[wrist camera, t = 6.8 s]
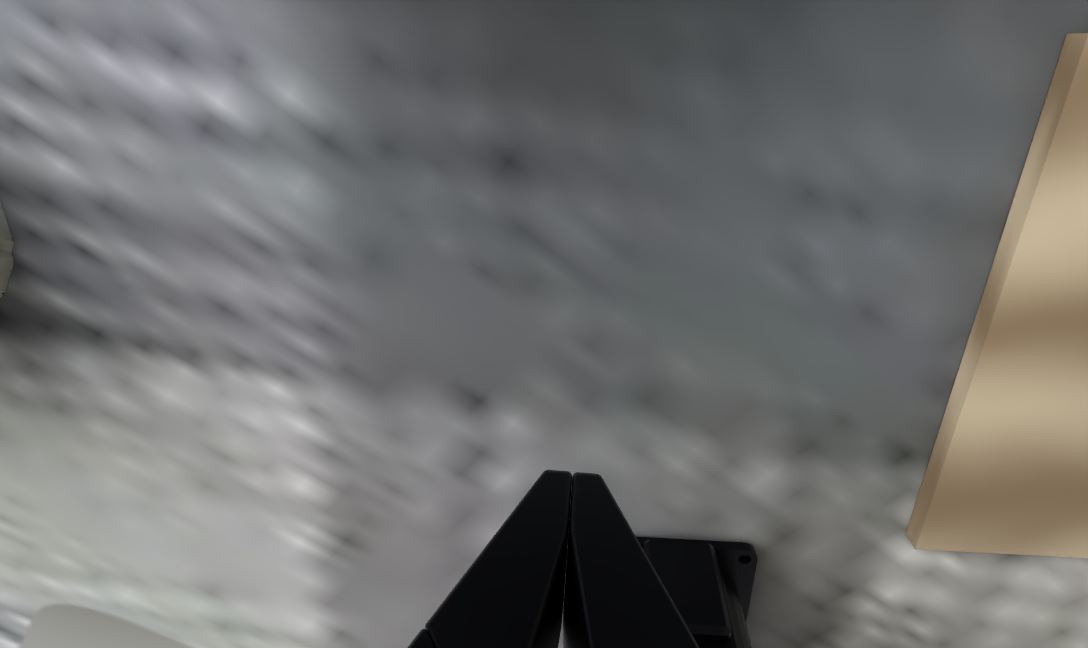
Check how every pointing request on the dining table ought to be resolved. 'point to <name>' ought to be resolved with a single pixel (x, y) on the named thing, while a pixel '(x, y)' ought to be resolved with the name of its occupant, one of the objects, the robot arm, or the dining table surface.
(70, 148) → the dining table surface
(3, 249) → the beige sack
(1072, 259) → the board
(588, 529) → the robot arm
